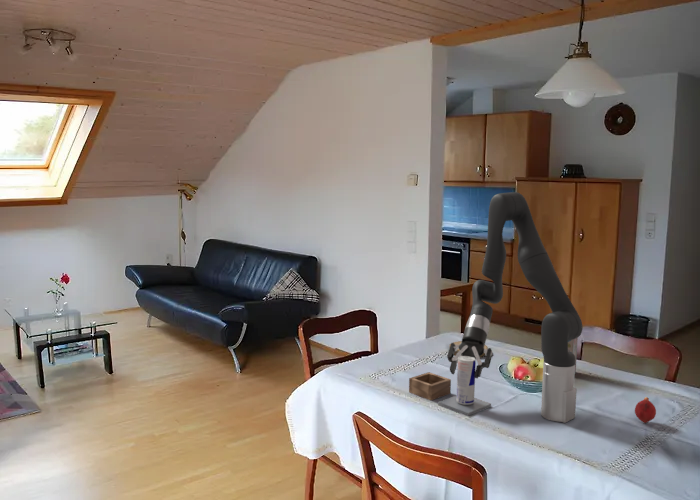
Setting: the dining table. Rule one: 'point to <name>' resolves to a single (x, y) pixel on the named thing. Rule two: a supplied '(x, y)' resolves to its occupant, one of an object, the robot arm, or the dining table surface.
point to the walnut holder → (429, 386)
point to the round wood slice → (459, 350)
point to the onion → (645, 410)
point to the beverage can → (466, 380)
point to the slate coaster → (464, 409)
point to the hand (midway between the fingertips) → (464, 375)
